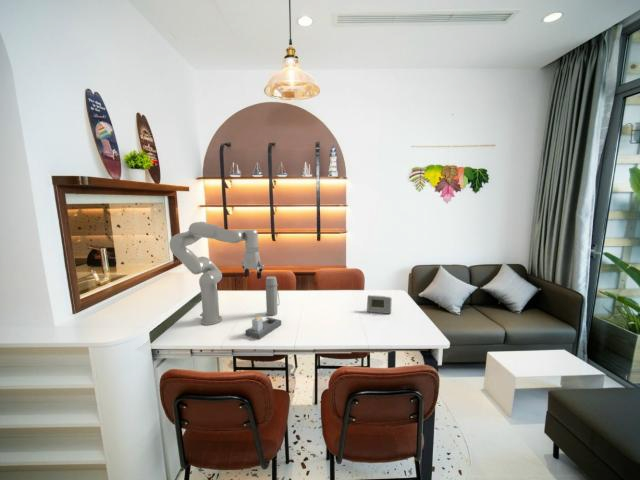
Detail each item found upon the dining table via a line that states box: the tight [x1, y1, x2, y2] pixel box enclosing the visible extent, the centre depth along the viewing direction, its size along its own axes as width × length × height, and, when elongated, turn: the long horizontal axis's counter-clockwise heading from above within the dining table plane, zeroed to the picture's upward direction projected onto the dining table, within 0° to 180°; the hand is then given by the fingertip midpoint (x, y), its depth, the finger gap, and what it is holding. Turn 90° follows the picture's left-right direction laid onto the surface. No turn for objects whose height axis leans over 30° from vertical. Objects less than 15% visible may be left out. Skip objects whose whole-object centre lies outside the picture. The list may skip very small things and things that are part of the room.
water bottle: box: [265, 275, 280, 317], centre depth 182 cm, size 9×8×25 cm
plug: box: [251, 316, 263, 332], centre depth 154 cm, size 4×4×10 cm
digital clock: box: [366, 294, 393, 314], centre depth 184 cm, size 16×9×11 cm, turn 64°
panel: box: [244, 316, 282, 340], centre depth 159 cm, size 10×20×3 cm, turn 152°
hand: (253, 277), depth 168 cm, fingers open, 9 cm apart
